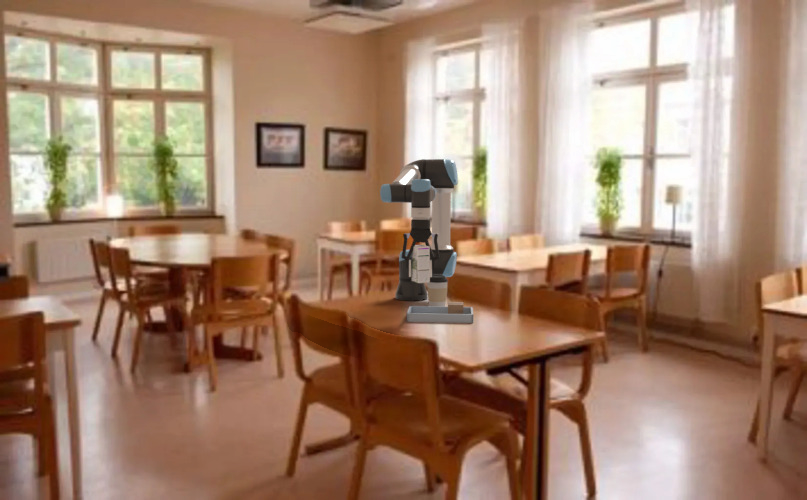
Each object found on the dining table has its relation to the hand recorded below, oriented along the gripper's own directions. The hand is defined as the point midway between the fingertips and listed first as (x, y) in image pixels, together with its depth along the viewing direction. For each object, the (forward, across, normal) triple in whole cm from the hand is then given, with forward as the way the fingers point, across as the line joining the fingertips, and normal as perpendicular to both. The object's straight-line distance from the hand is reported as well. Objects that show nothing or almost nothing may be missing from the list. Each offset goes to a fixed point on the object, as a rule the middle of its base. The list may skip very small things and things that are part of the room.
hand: (420, 276), depth 267 cm
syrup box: (+2, 0, 0) cm, 2 cm away
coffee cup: (+17, +6, +21) cm, 28 cm away
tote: (+17, +8, 0) cm, 19 cm away
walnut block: (+17, +14, 0) cm, 22 cm away
